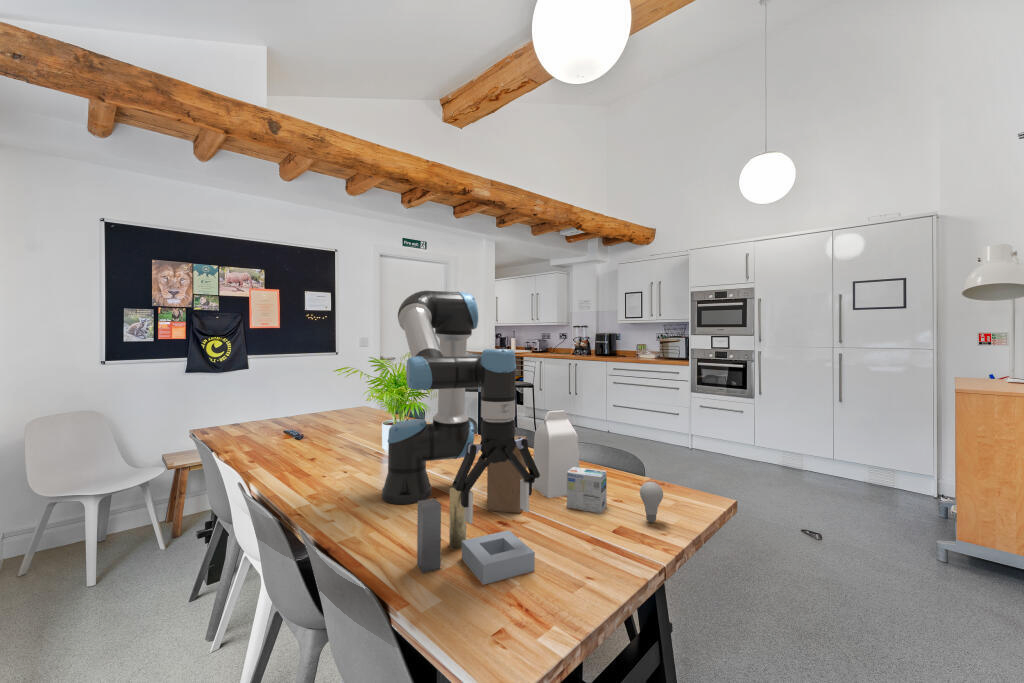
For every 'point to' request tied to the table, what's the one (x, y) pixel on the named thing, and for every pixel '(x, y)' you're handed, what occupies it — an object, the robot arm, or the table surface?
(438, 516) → the square bit
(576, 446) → the milk
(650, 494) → the lightbulb
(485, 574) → the jig
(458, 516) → the cylinder
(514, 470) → the wooden block
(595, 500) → the light bulb box
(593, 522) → the table surface
